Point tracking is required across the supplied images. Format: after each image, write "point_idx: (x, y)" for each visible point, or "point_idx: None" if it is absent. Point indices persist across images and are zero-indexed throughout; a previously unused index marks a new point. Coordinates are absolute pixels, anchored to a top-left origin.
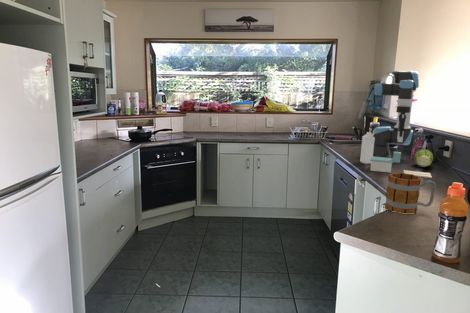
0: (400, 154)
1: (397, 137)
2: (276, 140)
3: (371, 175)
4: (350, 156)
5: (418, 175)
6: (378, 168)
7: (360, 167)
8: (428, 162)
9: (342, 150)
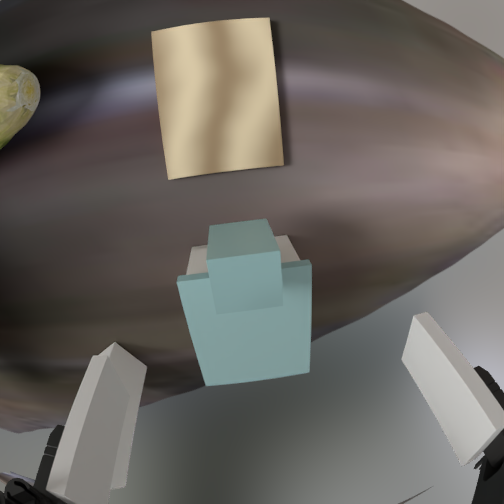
0: (277, 248)
1: (124, 412)
2: None
3: (366, 302)
4: (50, 405)
5: (274, 84)
6: None
7: None
8: (21, 67)
9: (3, 416)
